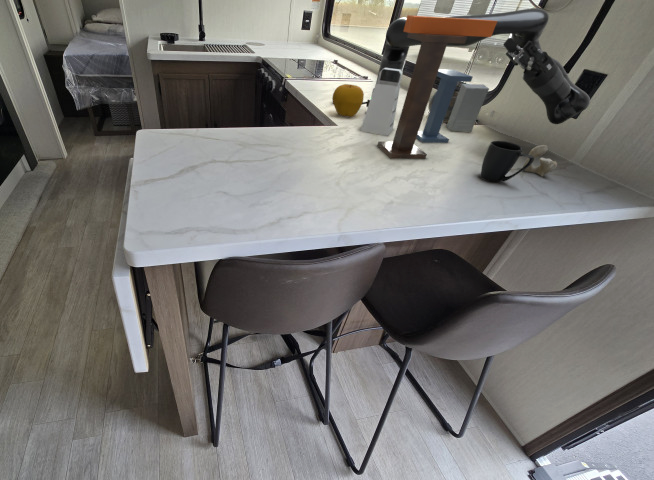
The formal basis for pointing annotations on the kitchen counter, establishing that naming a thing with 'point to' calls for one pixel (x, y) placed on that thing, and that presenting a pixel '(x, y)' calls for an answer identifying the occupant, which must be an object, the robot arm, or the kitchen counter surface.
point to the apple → (347, 99)
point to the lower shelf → (441, 105)
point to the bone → (545, 163)
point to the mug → (502, 161)
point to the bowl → (449, 104)
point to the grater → (382, 107)
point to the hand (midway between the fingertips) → (516, 42)
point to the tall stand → (418, 95)
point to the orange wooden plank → (449, 26)
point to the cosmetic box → (467, 107)
